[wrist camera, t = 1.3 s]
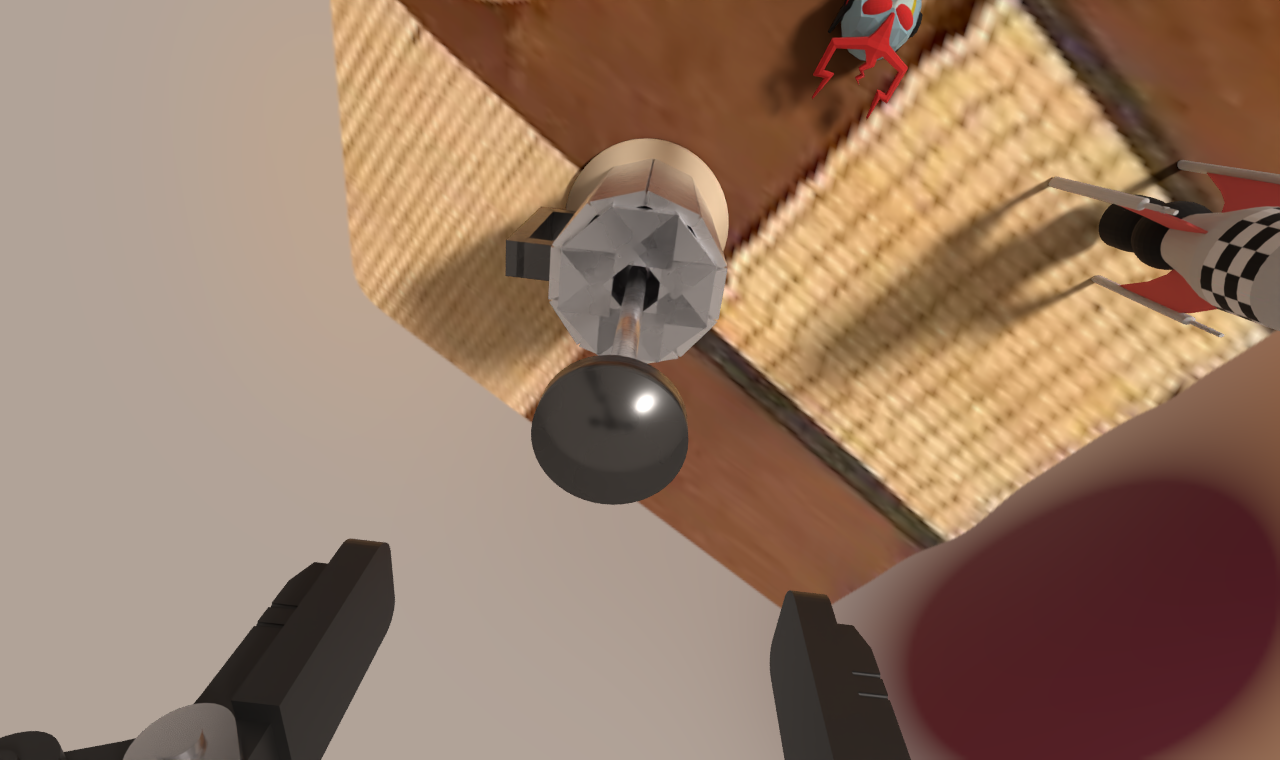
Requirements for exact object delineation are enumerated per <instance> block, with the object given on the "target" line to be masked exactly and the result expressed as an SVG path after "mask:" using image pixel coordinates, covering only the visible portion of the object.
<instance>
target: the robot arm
mask: <svg viewBox="0 0 1280 760" xmlns="http://www.w3.org/2000/svg"><path fill="white" fill-rule="evenodd" d="M394 605H395V595H394V584H393V573H392V562H391V551H390V547H389V544H387V543H383V542H375V541H367V540H358V539H347V540H346V541H345V542H344V543H343V544H342V545H341V547H340V548H339V549H338V551H337V552H336V553H335V555H334V556H333V558H332V559H331V560H330V562H329V563H328V564H326V563H317V562H314V563H313V564H311V565H310V566H309V567H307V568H306V569H304V570H303V571H302V572H300V573H299V574H298V575H296V576H295V577H293V578H292V579H291V580H289V581H288V582H287V584H286V585H285V586H284V588H283V589H282V590H281V592H280V593H279V594H278V595H277V597H276V598H275V600H274V601H273V602H272V606H271V607H268V609H267V610H266V611H265V612H264V614H263V615H262V616H261V618H260V619H259V620H258V623H257V626H254V627H253V628H252V630H251V631H250V632H249V633H248V635H247V636H246V637H245V639H244V640H243V641H242V643H241V644H240V645H239V646H238V648H237V649H236V650H235V652H234V653H233V654H232V655H231V657H230V658H229V659H228V661H227V662H226V663H225V665H224V666H223V667H222V668H221V670H220V671H219V672H218V674H217V675H216V676H215V678H214V679H213V680H212V681H211V683H210V684H209V686H208V687H207V688H206V689H205V691H204V692H203V693H202V694H201V696H200V697H199V698H198V699H197V700H196V702H195V703H194V704H193V705H188V706H185V707H182V708H179V709H177V710H175V711H172V712H170V713H168V714H166V715H165V716H163V717H161V718H159V719H158V720H156V721H155V722H154V723H152V724H151V725H150V726H148V727H147V728H146V729H145V730H144V731H142V733H141V734H140V735H139V736H138V737H137V738H135V739H131V740H127V741H122V742H117V743H111V744H106V745H101V746H95V747H90V748H84V749H79V750H73V751H68V752H63V750H62V749H61V746H60V744H59V742H58V741H57V739H56V738H55V737H53V736H52V735H50V734H48V733H45V732H39V731H28V732H21V733H15V734H12V735H8V736H5V737H2V738H0V760H321V758H322V757H323V755H324V753H325V751H326V749H327V747H328V745H329V743H330V741H331V739H332V737H333V735H334V733H335V731H336V729H337V728H338V726H339V724H340V722H341V720H342V718H343V716H344V714H345V712H346V710H347V708H348V706H349V704H350V702H351V701H352V699H353V697H354V695H355V693H356V691H357V689H358V687H359V685H360V683H361V681H362V679H363V677H364V675H365V673H366V671H367V670H368V668H369V666H370V664H371V662H372V660H373V658H374V656H375V654H376V652H377V650H378V648H379V646H380V644H381V643H382V641H383V639H384V637H385V635H386V633H387V631H388V628H389V626H390V623H391V620H392V616H393V611H394ZM770 675H771V682H772V688H773V693H774V699H775V705H776V711H777V717H778V723H779V729H780V735H781V741H782V747H783V752H784V758H785V760H911V759H910V756H909V753H908V750H907V747H906V745H905V742H904V739H903V736H902V733H901V730H900V728H899V725H898V722H897V719H896V716H895V714H894V711H893V708H892V705H891V703H890V701H889V700H888V694H887V691H886V688H885V686H884V683H883V680H882V679H880V672H879V669H878V666H877V663H876V660H875V658H874V655H873V652H872V649H871V648H870V646H869V645H868V644H867V643H866V641H865V640H864V639H863V637H862V636H861V635H860V634H859V632H858V631H857V630H856V629H855V627H854V626H852V625H844V624H837V622H836V619H835V615H834V612H833V609H832V605H831V602H830V600H829V598H828V596H827V595H824V594H815V593H807V592H798V591H788V592H787V593H786V596H785V599H784V602H783V605H782V609H781V612H780V616H779V619H778V623H777V627H776V630H775V633H774V637H773V641H772V644H771V652H770Z"/></svg>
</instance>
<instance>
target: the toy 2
mask: <svg viewBox="0 0 1280 760" xmlns="http://www.w3.org/2000/svg"><path fill="white" fill-rule="evenodd" d="M1177 165H1178V168H1179V169H1181V170H1186V171H1192V172H1198V173H1204V174H1208V175H1209V177H1210V178H1211V179H1212V181H1213V182H1214V183H1215V184H1216V186H1217V187H1218V188H1219V190H1220V191H1221V193H1222V196H1223V199H1224V201H1225V204H1224V207H1223V210H1222V213H1212V212H1211V211H1210V210H1209V209H1207V208H1206V207H1205V206H1202V205H1199V204H1197V203H1194V202H1185V201H1178V202H1170V203H1164V202H1163V201H1160V200H1157V199H1155V198H1151V197H1147V196H1143V195H1131V194H1127V193H1123V192H1119V191H1115V190H1111V189H1106V188H1102V187H1098V186H1094V185H1090V184H1086V183H1081V182H1077V181H1073V180H1069V179H1065V178H1060V177H1054V178H1052V179H1051V180H1050V182H1049V186H1050V187H1053V188H1057V189H1061V190H1064V191H1068V192H1072V193H1075V194H1079V195H1083V196H1086V197H1090V198H1094V199H1098V200H1101V201H1105V202H1109V203H1112V205H1110V206H1109V207H1108V209H1107V210H1106V211H1105V212H1104V214H1103V215H1102V217H1101V220H1100V223H1099V235H1100V237H1101V239H1102V240H1103V241H1104V243H1106V244H1107V245H1109V246H1112V247H1115V248H1118V249H1120V250H1123V251H1127V252H1134V253H1135V255H1136V256H1137V257H1138V258H1139V259H1140V261H1142V262H1143V263H1145V264H1147V265H1148V266H1151V267H1154V268H1157V269H1164V270H1172V271H1171V272H1169V273H1168V274H1167V275H1164V276H1161V277H1159V278H1156V279H1154V280H1151V281H1148V282H1141V283H1133V284H1125V285H1120V284H1118V283H1116V282H1114V281H1111V280H1109V279H1107V278H1105V277H1102V276H1100V275H1097V276H1094V277H1093V278H1092V279H1091V280H1092V281H1093V282H1095V283H1097V284H1099V285H1101V286H1103V287H1106V288H1108V289H1110V290H1112V291H1114V292H1116V293H1118V294H1121V295H1123V296H1125V297H1127V298H1129V299H1131V300H1133V301H1136V302H1138V303H1140V304H1142V305H1144V306H1146V307H1148V308H1151V309H1153V310H1155V311H1157V312H1159V313H1161V314H1163V315H1166V316H1168V317H1170V318H1172V319H1174V320H1176V321H1178V322H1180V323H1183V324H1186V325H1187V324H1192V325H1194V326H1196V327H1198V328H1200V329H1203V330H1205V331H1207V332H1209V333H1212V334H1214V335H1216V336H1218V337H1224V334H1222V333H1220V332H1218V331H1216V330H1214V329H1212V328H1209V327H1207V326H1205V325H1203V324H1201V323H1198V322H1196V321H1195V320H1196V319H1195V318H1194V317H1192V316H1190V315H1188V314H1185V313H1195V312H1201V311H1208V310H1214V309H1220V310H1223V311H1225V312H1228V313H1231V314H1234V315H1237V316H1239V317H1242V318H1245V319H1247V320H1250V321H1253V322H1256V323H1258V324H1261V325H1264V326H1266V327H1269V328H1272V329H1275V330H1278V331H1280V175H1279V174H1273V173H1266V172H1259V171H1252V170H1246V169H1239V168H1232V167H1225V166H1219V165H1212V164H1205V163H1198V162H1192V161H1185V160H1180V161H1179V162H1178V164H1177Z"/></svg>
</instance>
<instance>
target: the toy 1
mask: <svg viewBox="0 0 1280 760" xmlns="http://www.w3.org/2000/svg"><path fill="white" fill-rule="evenodd" d="M920 9H921V0H845V2H844V4H843V6H842V8H841V10H840V11H839V13H838V15H837V17H836V18H835V20H834V22H833V23H832V25H831V27H830V29H829V31H828V32H829V33H831V32H832V30H833V29H834V28H835V27H836V25H837V24H838V23H839V22H840V21H841V19H842V21H841V30H842V37H841V38H832V40H831V41H830V43H829V45H828V47H827V49H826V51H825V53H824V55H823V56H822V58H821V60H820V62H819V64H818V66H817V68H816V70H815V72H814V73H813V76H817V77H823V80H822V82H821V83H820V85H819V86H818V88H817V90H816V91H815V93H814V95H813V96H812V99H813V98H814V97H815V96H816V95H817V93H818V92H819V91H820V90H821V89H822V88H823V87H824V85H825V84H826V83H827V82H828V81H829V80H830V79H831V77H832V76H833V75H834V73H832V72H829V71H826V70H824V69H825V67H826V65H827V64H828V62H829V60H830V58H831V57H832V55H833V53H834V51H835V50H836V48H842V49H847V50H848V51H849V53H851V54H852V55H854V56H855V57H857V58H858V59H860V60H864V61H866V62H865V63H864V64H862V65H861V66H859V70H860V73H861V74H860V75H858V76H856V77H855V78H856V80H857V82H858V80H859V79H861V78H863V77H865V75H864V71H863V70H866V69H869V68H872V67H874V65H875V63H876V61H877V60H880V59H883V58H884V59H886V60H887V61H888V62H889V63H890V64H891V65H892V66H893V67H894V68H895V69H896V70H897V71H898V72H897V74H896V76H895V78H894V80H893V82H892V83H891V85H890V87H889V89H888V91H887V93H884V92H882V91H879V90H877V92H876V94H875V97H874V99H873V102H872V104H871V107H870V109H869V112H868V114H867V117H866V118H867V119H868V117H869V116H870V114H871V112H872V111H873V109H874V108H875V106H876V104H877V103H878V101H879V99H881V100H882V101H884V102H885V103H888V101H889V99H890V98H891V96H892V94H893V92H894V91H895V89H896V87H897V86H898V84H899V82H900V81H901V79H902V77H903V76H904V74H905V72H906V71H907V69H908V68H907V66H906V65H905V64H904V62H903V61H902V60H901V59H900V57H899V56H898V55H897V54H896V53H895V52H896V51H897V50H898V49H899V48H900V47H901V46H902V45H903V44H904V43H905V42H906V41H907V40H908V39H909V37H913V36H914V34H915V33H916V32H917V30H918V28H919V26H920V24H921V20H922V13H921V12H920ZM858 84H859V82H858Z"/></svg>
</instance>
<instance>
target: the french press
mask: <svg viewBox="0 0 1280 760" xmlns="http://www.w3.org/2000/svg"><path fill="white" fill-rule="evenodd" d="M627 265H635V266H643V267H648V268H649V269H650V270H651V272H652V273H653V274H654V275H655V277H656V278H657V279H658V280H659V282H660V284H659V292H658V296H657V297H656V298H654V299H653V300H652V301H650V302H649V303H648V304H646V305H645V306H644V307H643V312H642V320H641V328H640V336H639V344H638V352H637V360H640V361H642V362H644V363H653V362H656V363H657V362H659V361H665V360H671V359H676V358H678V355H679V356H680V357H681V356H682V355H683V354H684V353H685V352H686V351H687V350H688V349H690V348H691V347H692V346H693V345H694V344H695V343H696V342H697V341H698V340H699V339H700V338H701V337H702V336H703V335H704V334H705V333H706V332H707V331H708V330H709V329H710V328H711V327H713V326H714V325H715V324H716V323H717V320H718V319H719V313H720V308H721V302H722V296H723V291H724V285H725V279H726V274H727V264H726V261H725V258H724V254H723V251H722V248H721V245H720V242H719V238H718V235H717V232H716V229H715V225H714V222H713V219H712V216H711V213H710V211H709V209H708V207H707V205H706V203H705V201H704V199H703V197H702V195H701V193H700V191H699V189H698V187H697V185H696V183H695V181H694V179H693V177H692V178H691V176H690V175H688V174H686V173H684V172H682V171H680V170H678V169H676V168H673V167H671V166H669V165H667V164H665V163H663V162H661V161H659V160H657V159H655V160H654V162H653V158H652V159H647V160H642V161H638V162H633V163H628V164H624V165H619V166H614V167H613V168H611V169H610V171H609V172H608V173H607V174H606V175H605V177H604V178H603V179H602V180H601V181H600V182H599V184H598V185H597V186H596V187H595V188H594V190H593V191H592V192H591V193H590V194H589V195H588V197H587V198H586V199H585V200H584V202H583V203H582V205H581V206H580V207H579V209H578V210H577V211H571V210H563V209H555V208H547V207H541V208H539V209H538V210H537V211H536V212H535V213H534V214H533V215H532V216H531V217H530V218H529V219H528V220H527V221H526V222H525V223H524V224H523V225H521V226H520V227H519V228H518V229H517V230H516V231H515V232H514V233H513V234H512V235H511V236H510V237H509V238H508V239H507V240H506V276H512V277H520V278H529V279H537V280H545V281H549V296H548V299H550V301H549V303H550V304H551V306H552V307H553V309H554V310H555V312H556V313H557V315H558V316H559V318H560V319H561V321H562V322H563V324H564V326H565V327H566V329H567V330H568V332H569V333H570V335H571V336H572V338H573V339H574V341H575V342H576V344H579V343H580V345H579V347H582V348H584V349H586V350H589V351H591V352H593V353H596V355H611V352H612V347H613V343H614V338H615V334H616V329H617V325H618V320H619V316H620V311H621V307H622V301H621V300H620V299H619V298H618V296H617V295H616V294H615V293H614V292H613V281H614V275H616V274H617V273H618V272H620V271H621V270H622V269H623V268H625V267H626V266H627Z"/></svg>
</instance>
